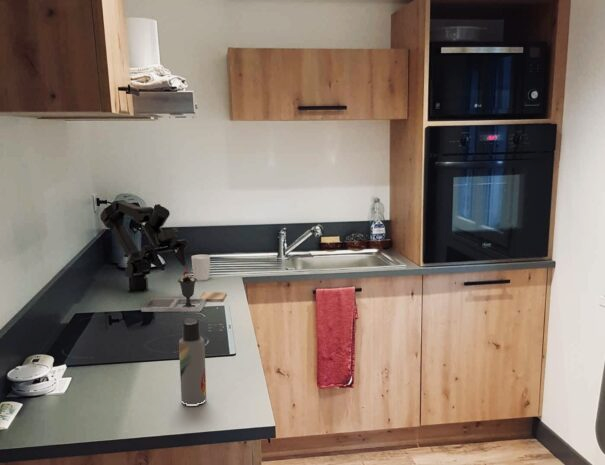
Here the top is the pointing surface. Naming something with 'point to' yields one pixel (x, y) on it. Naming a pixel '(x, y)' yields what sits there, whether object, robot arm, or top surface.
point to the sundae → (187, 287)
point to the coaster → (213, 296)
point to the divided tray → (171, 305)
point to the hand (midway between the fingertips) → (174, 267)
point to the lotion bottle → (192, 363)
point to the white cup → (201, 267)
